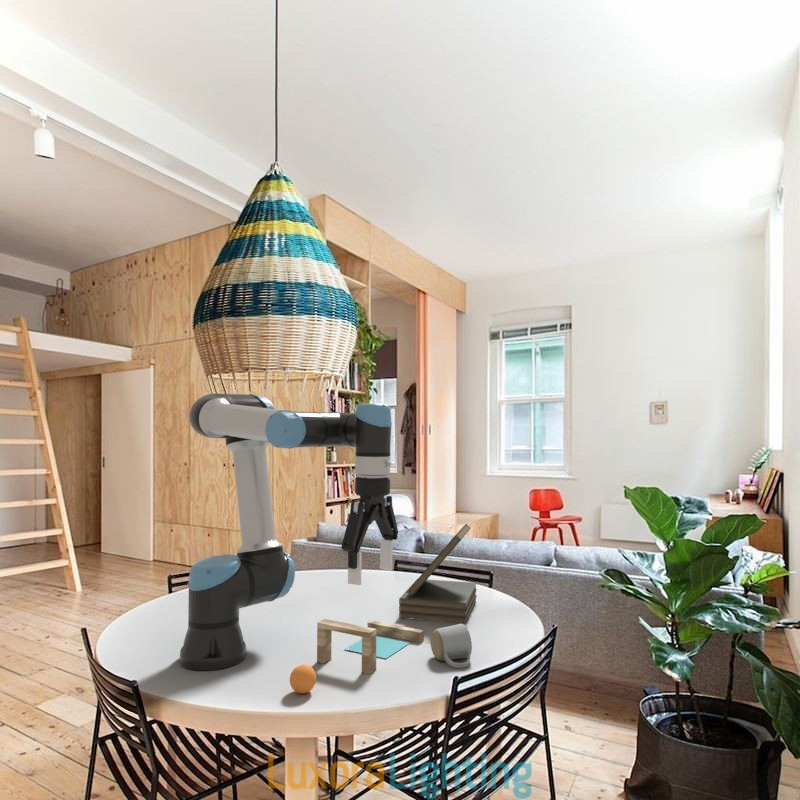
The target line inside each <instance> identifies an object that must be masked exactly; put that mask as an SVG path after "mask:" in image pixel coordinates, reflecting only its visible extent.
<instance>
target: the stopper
mask: <svg viewBox="0 0 800 800" xmlns="http://www.w3.org/2000/svg"><path fill="white" fill-rule="evenodd" d="M367 627H369V628H374V629H376V635H381V636H385V637H386V636H387V637H390V636H391V637H390V638H395V637H396V638H395V639H400V638H401V639H400V640H405V639H406V641H410V640H412V641H411V642H415V641H417V642H416V643H422V642H423V641H424V640H425V639H424V638H425V637H424V636H425V634H424V633H425V630H424V629H423V630H422V629H419V628H418V629H417V628H413V627H407V626H402V625H397V624H391V623H387V622H380V621H376V620H369V621H367ZM421 641H422V642H421Z"/></svg>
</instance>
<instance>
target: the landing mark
mask: <svg viewBox="0 0 800 800" xmlns="http://www.w3.org/2000/svg"><path fill="white" fill-rule="evenodd" d="M409 643H410V642H408V641H403V640H398V639H393V638H387V637H383V636H382V637H381V636H378V635H376V658H378V659H382V658H383V660H387V659H389V658H391V656H393V655H395V654H396V653H398V652H400V650H403V649H404V648H405V647H407V646H408V645H410V644H409ZM348 648H349V650H350V651H349V652H351V651H354V652H353V653H355V652H358V653H357V654H360V653H362V638H361V639H360V640H358V641H356V642H355V643H353V644H351V645H349V646H348ZM348 648H347V647H345V648H344V649H345V650H344V651H346V649H348Z"/></svg>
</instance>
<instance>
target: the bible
mask: <svg viewBox="0 0 800 800" xmlns="http://www.w3.org/2000/svg"><path fill="white" fill-rule="evenodd" d="M471 528H472V527H470V526H469V525H468V523H465V524H464V525H463V527H461V528H460V529H459V530H458V532H457V533H456V534H455V535H454V536H453V537H452V539H451V540H450V541H449V542H447V544H446V545H445V547H444V548H443V549H441V552H439V553H438V555H437V556H436V557H435V558H434V559H433V560H432V562H431V563H430V564H429V565H428V567H427V568H425V570H424V571H423V572H422V574H421V575H420V576H419V577H418V578H417V579H416V580H415V581H414V582H413V583H412V584H411V585H410V586H409V587H408V588H407V590H406V591H405V592H404V593H403V594H402V595H401V596H400V597H399V599H398V602H399V603H398V605H399V607H398V609H399V610H398V612H399V613H398V617H399V619H405V618H413V619H412V620H416V619H423V620H422V621H428V620H432V621H431V622H439V621H444V622H443V623H451V622H454V623H453V624H463V623H465V624H464V625H466V623H467V621H468V620H469V617H470V615H471V612H472V611H473V608H474V606H475V604H476V602H477V601H476V600H477V595H476V593H477V588H476V587H477V582H469V581H456V580H454V581H453V580H443V579H442V580H441V579H429V578H430V576H431V575H432V574H433V573H434V572H435V571H436V570H437V569H438V567H440V565H441V564H442V563H443V562H444V561H445V559H446V558H448V556H449V554H450V553H452V551H453V550H454V549H455V548H456V546H457V545H458V544H459V543H460V542H461V541H462V539H463V538H465V536H466V535H467V534H468V532H469V531H470V530H471ZM467 619H468V620H467Z"/></svg>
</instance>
